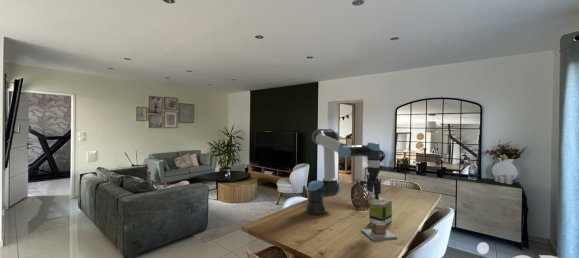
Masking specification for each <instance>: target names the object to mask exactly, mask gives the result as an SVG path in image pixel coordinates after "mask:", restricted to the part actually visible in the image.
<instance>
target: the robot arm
mask: <svg viewBox="0 0 579 258" xmlns="http://www.w3.org/2000/svg"><path fill="white" fill-rule="evenodd" d="M311 140H312V142H313V143H315V145H316V144H317V145H318V146H322V147H323V166H324V167H323V171H324V172H323V174H324V177H323V179H322V180H312V181H309V183H308V185H307V186H308V187H307V192H308V193H307V195H308V196H307V197H308V198H307V203H306V207H305V213H307V214H309V215H314V216H320V215H324V214H325V213H326V208H325V205H324V198H329V197H335V196H338V195H339V194H340V192H341V184H340V181H338V179H337V178H336V162H335V161H336V155H335V152H336V153H337V154H338V155H339V157H340V158H352V157H365V158H367V159H366V160H367V162H366V164H367V168H366V169H367V170H366V171H367V173H368V174H366V190H367V191H368V195H374V205H376V204H378V196H379V195H381V194H382V192H381V191H382V190H381V188H382V185H381V182H382V178H381V177H379V174H380V173H381V172H380V171H381V168H380V166H381V164H380V163H381V162H380V161H381V160H380V158H381V157H380V151H381V147H380V143H378V142H368V143H367V145H366V144H365V145H364V144H356V145H353V144H352V145H349V144H346V143H345V142H342V141H339V140H340V135H339V132H338V131H337V130H336V129H335V128H334V129H332V128H317V129H315V130H314V131H313V132H312V134H311Z"/></svg>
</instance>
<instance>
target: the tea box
mask: <svg viewBox="0 0 579 258" xmlns="http://www.w3.org/2000/svg"><path fill="white" fill-rule="evenodd" d="M368 204H369V203H368ZM392 206H393V201H392V199H391V200H390V199H385V198H381V197H379V205H371V204H369V208H368V209H369V210H368V211H369V215H368V216H369V220H368V221H369V223H370V224H372V222H375V221H381V222H383V223H384V224H386V225H387V224H389V223H390V222H392V221H393V207H392Z"/></svg>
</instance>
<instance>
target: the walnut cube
mask: <svg viewBox="0 0 579 258" xmlns="http://www.w3.org/2000/svg"><path fill="white" fill-rule="evenodd" d="M371 228H372V232H373V233H375V234H376V235H386V229H387V224H384V223H383V222H381V221H375V222H372V223H371Z"/></svg>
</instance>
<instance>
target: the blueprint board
mask: <svg viewBox="0 0 579 258" xmlns="http://www.w3.org/2000/svg"><path fill="white" fill-rule="evenodd" d="M360 231H361V232H362V234H364V235H365V236H366V237H367V238H369V239H370V240H371V241H384V240H397V239H398V236H397V235H396V234H394V233H392V232H391V231H390V230H389V229H387V228H386V235H376V234H375V233H373V232H372V227H371V228H361V229H360Z"/></svg>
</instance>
